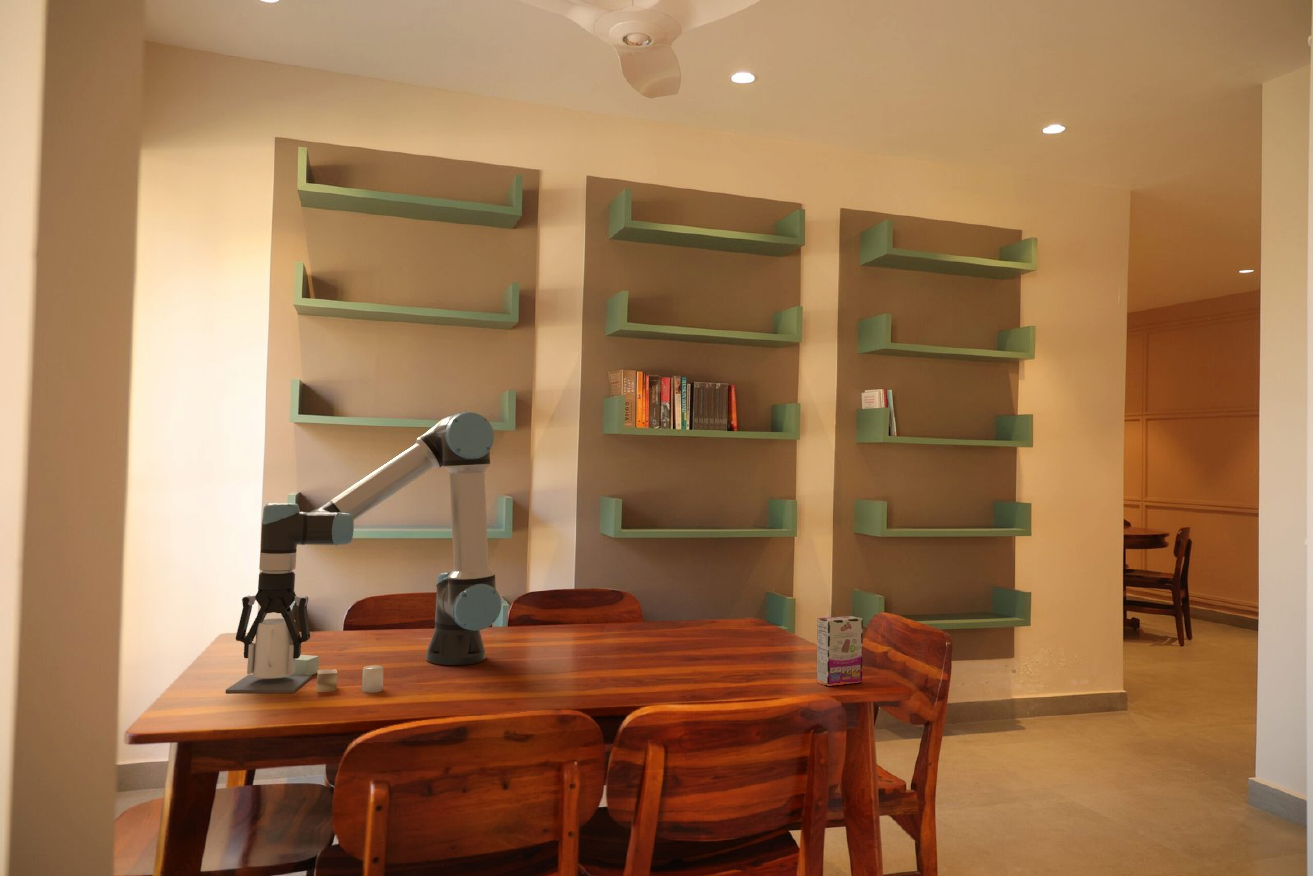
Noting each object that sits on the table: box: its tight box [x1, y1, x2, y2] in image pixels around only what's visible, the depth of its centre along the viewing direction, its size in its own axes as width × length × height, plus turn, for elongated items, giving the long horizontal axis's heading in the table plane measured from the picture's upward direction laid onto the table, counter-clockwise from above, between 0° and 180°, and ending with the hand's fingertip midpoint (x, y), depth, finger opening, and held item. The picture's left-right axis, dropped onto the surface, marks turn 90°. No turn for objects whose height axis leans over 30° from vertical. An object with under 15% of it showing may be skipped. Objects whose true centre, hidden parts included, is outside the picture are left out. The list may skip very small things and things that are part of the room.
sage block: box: [292, 654, 320, 676], centre depth 199 cm, size 5×5×4 cm
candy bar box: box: [816, 615, 864, 684], centre depth 210 cm, size 11×5×16 cm, turn 117°
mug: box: [251, 617, 293, 679], centre depth 188 cm, size 12×8×12 cm
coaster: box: [225, 674, 312, 694], centre depth 187 cm, size 14×14×1 cm
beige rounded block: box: [361, 664, 385, 694], centre depth 186 cm, size 4×4×5 cm
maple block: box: [316, 668, 338, 693], centre depth 186 cm, size 4×4×4 cm
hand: (271, 672), depth 187 cm, fingers closed on mug, 8 cm apart
